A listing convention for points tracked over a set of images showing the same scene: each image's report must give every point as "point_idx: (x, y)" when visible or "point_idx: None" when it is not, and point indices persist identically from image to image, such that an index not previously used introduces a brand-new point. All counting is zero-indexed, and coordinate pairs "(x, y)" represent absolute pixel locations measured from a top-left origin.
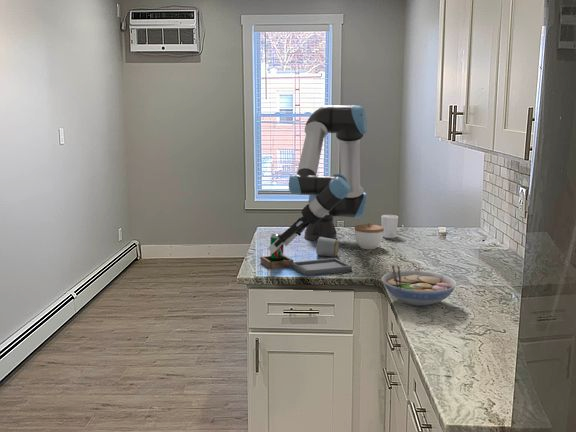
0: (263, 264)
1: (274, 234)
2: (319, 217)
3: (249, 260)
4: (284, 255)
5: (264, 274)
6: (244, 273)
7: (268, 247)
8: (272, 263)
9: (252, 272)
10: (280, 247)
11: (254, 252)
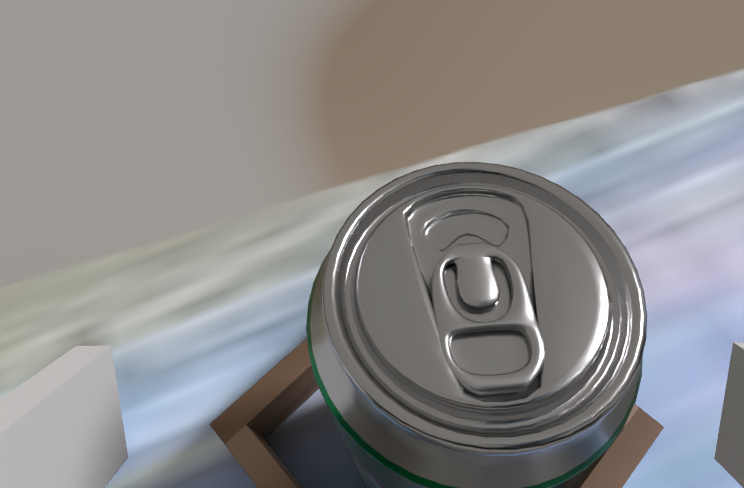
0: None
1: (491, 216)
2: None
3: None
4: (631, 460)
5: None
6: (38, 286)
7: (65, 355)
8: (235, 453)
9: (77, 333)
10: (381, 484)
11: (704, 101)
